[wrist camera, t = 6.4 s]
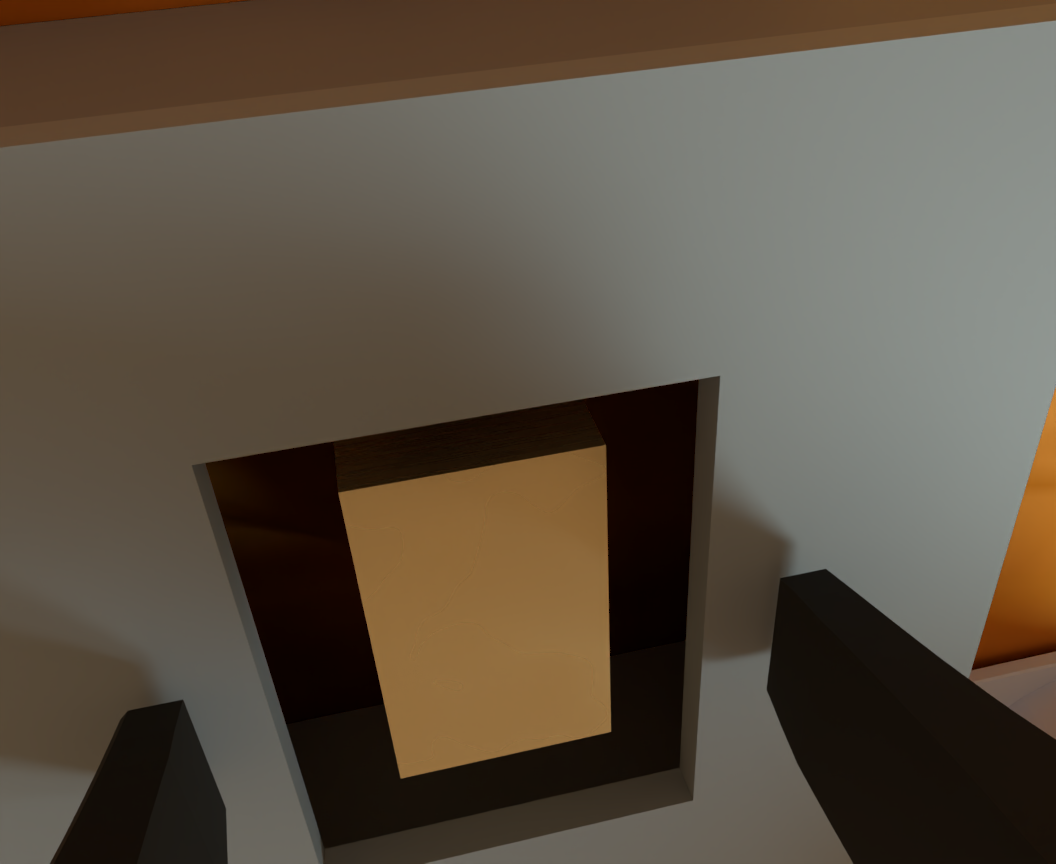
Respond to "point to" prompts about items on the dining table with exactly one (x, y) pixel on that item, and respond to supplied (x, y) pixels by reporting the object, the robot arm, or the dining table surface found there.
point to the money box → (509, 366)
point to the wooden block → (483, 580)
